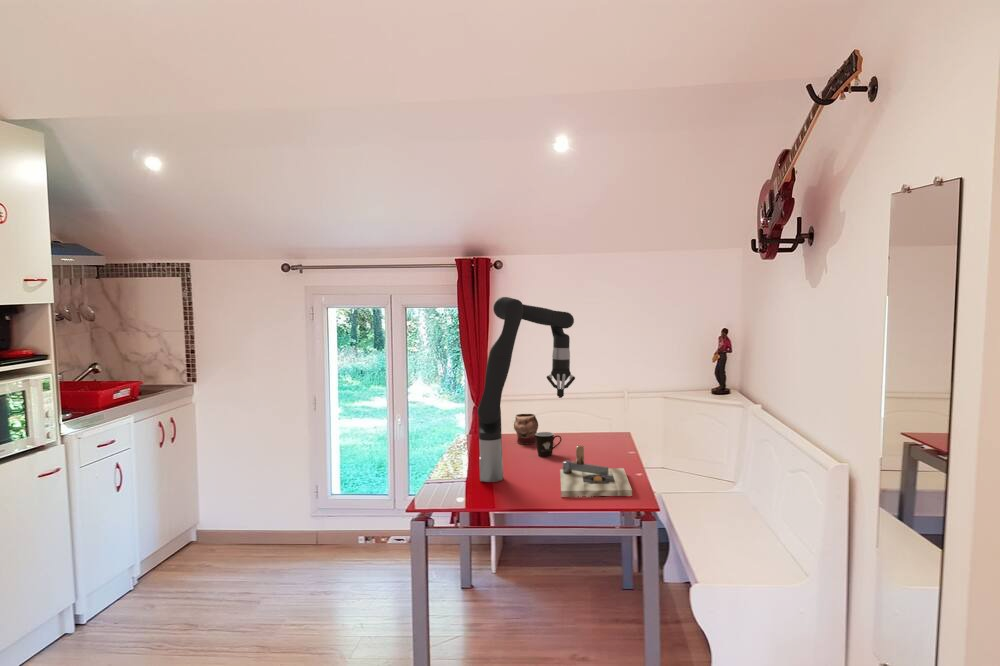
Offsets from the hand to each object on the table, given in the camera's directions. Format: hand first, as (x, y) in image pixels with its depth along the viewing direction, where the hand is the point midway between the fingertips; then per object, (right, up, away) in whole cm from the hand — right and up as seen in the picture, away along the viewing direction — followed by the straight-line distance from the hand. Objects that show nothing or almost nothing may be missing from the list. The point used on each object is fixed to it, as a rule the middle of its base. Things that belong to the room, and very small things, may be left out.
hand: (560, 397), depth 289 cm
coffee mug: (-4, -29, +17) cm, 33 cm away
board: (+10, -31, -30) cm, 45 cm away
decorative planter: (-13, -27, +44) cm, 53 cm away
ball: (+12, -30, -29) cm, 43 cm away
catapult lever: (+8, -29, -25) cm, 38 cm away
